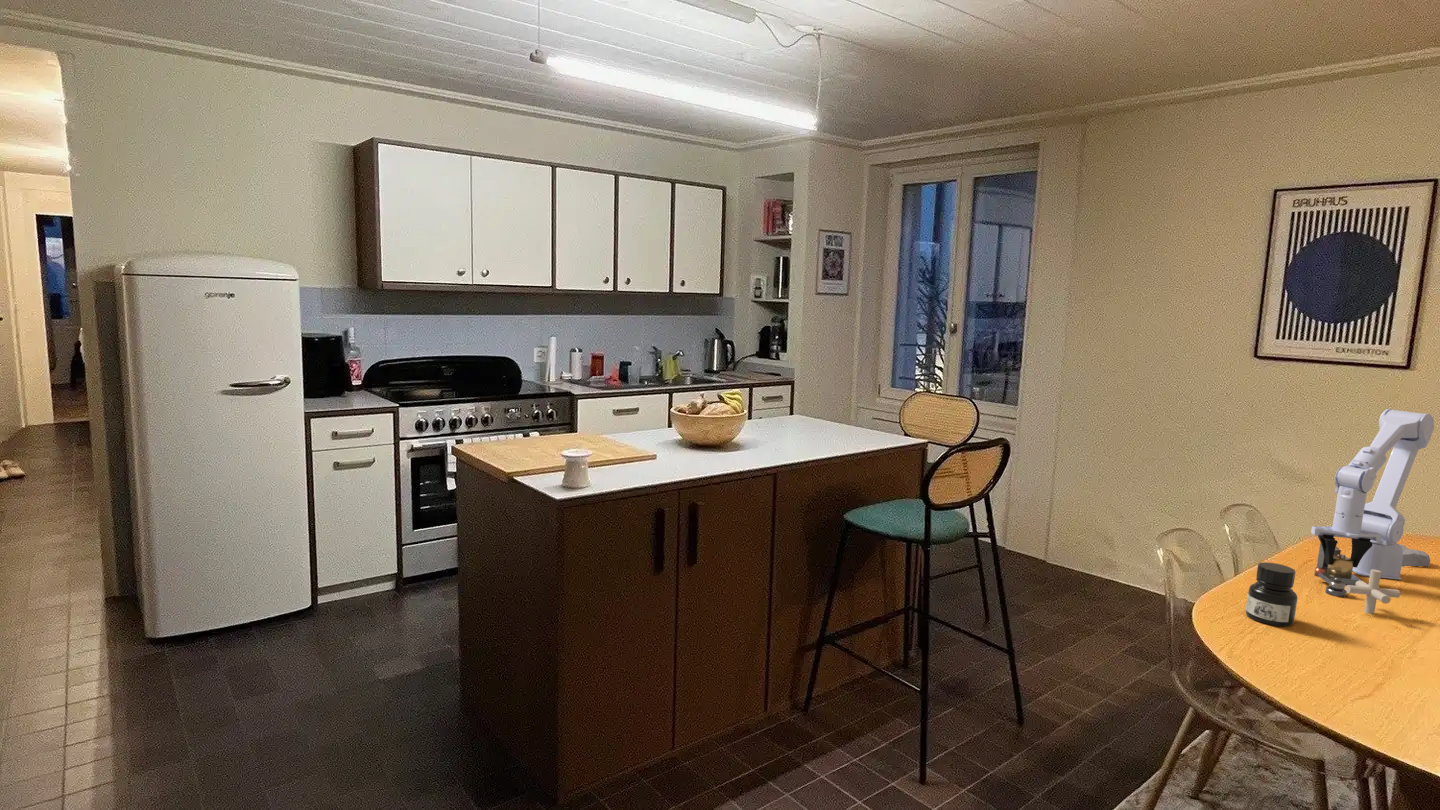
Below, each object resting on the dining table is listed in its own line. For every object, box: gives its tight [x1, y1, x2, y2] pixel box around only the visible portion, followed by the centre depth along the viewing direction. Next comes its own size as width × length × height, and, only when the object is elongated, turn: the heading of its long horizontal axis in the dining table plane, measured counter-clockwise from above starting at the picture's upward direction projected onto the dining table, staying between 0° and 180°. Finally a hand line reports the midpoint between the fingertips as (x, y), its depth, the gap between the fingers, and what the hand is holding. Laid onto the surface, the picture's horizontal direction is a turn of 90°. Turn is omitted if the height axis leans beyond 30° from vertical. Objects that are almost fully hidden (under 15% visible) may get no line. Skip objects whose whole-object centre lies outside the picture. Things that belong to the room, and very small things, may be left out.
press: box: [1316, 542, 1363, 586], centre depth 206 cm, size 7×12×7 cm, turn 165°
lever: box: [1314, 566, 1346, 591], centre depth 197 cm, size 3×11×2 cm, turn 165°
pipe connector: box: [1345, 569, 1401, 615], centre depth 181 cm, size 10×10×10 cm
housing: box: [1327, 553, 1354, 578], centre depth 203 cm, size 5×5×5 cm
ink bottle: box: [1245, 561, 1298, 627], centre depth 175 cm, size 10×9×12 cm
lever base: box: [1324, 577, 1347, 598], centre depth 193 cm, size 4×4×4 cm
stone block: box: [1399, 544, 1431, 568], centre depth 222 cm, size 12×5×10 cm
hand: (1340, 564), depth 203 cm, fingers closed on housing, 5 cm apart
